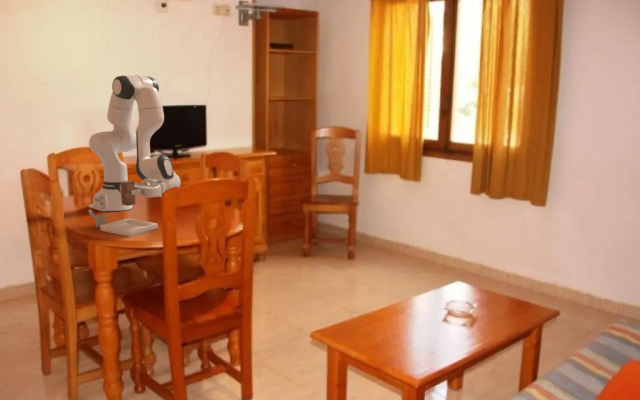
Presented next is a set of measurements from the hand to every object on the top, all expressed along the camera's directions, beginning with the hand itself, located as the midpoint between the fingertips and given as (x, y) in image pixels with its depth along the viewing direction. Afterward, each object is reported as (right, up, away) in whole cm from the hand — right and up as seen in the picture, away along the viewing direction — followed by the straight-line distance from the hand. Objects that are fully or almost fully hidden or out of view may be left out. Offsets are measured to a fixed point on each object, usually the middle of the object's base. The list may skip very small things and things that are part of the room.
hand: (126, 192), depth 257 cm
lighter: (-16, -15, +9) cm, 24 cm away
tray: (0, -16, +4) cm, 17 cm away
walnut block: (0, -5, +2) cm, 6 cm away
